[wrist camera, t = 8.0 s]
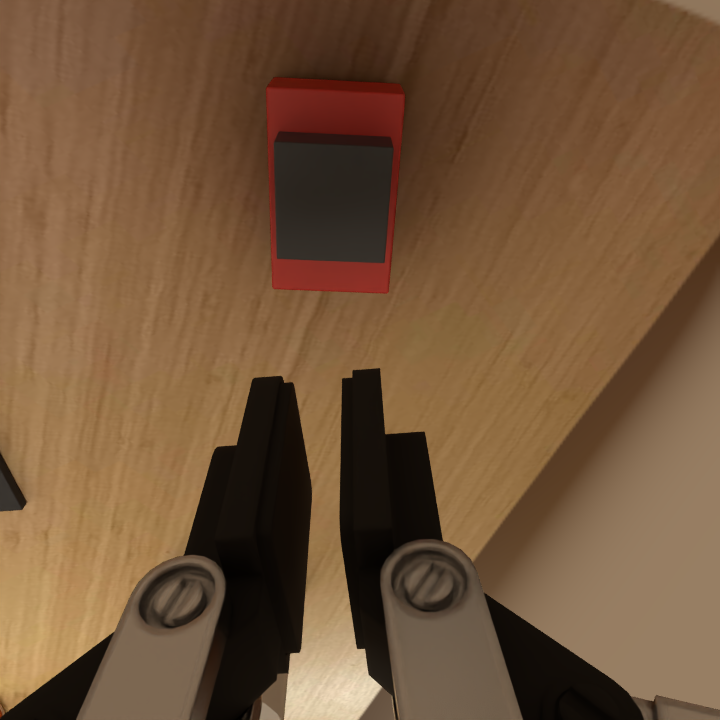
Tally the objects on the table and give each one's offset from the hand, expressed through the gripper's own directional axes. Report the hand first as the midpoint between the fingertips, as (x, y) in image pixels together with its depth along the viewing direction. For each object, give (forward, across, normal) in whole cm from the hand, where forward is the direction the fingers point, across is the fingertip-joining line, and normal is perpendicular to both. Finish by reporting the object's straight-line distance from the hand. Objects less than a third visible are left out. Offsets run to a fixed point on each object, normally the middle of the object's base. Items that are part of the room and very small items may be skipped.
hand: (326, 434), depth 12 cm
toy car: (+15, -2, 0) cm, 15 cm away
